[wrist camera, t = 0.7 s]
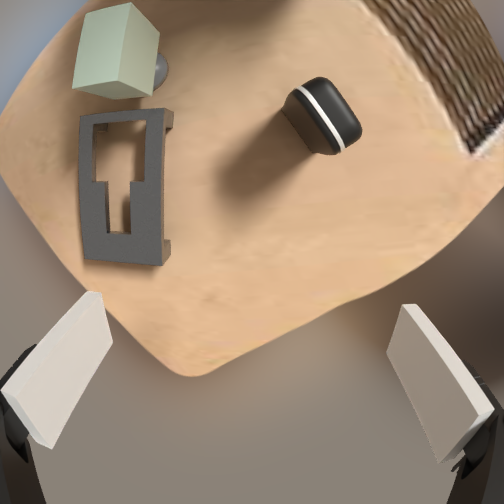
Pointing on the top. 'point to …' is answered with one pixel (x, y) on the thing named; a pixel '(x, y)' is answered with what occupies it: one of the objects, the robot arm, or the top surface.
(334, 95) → the battery charger
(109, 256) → the keyhole plate
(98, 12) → the pale green boxy piece
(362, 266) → the top surface
